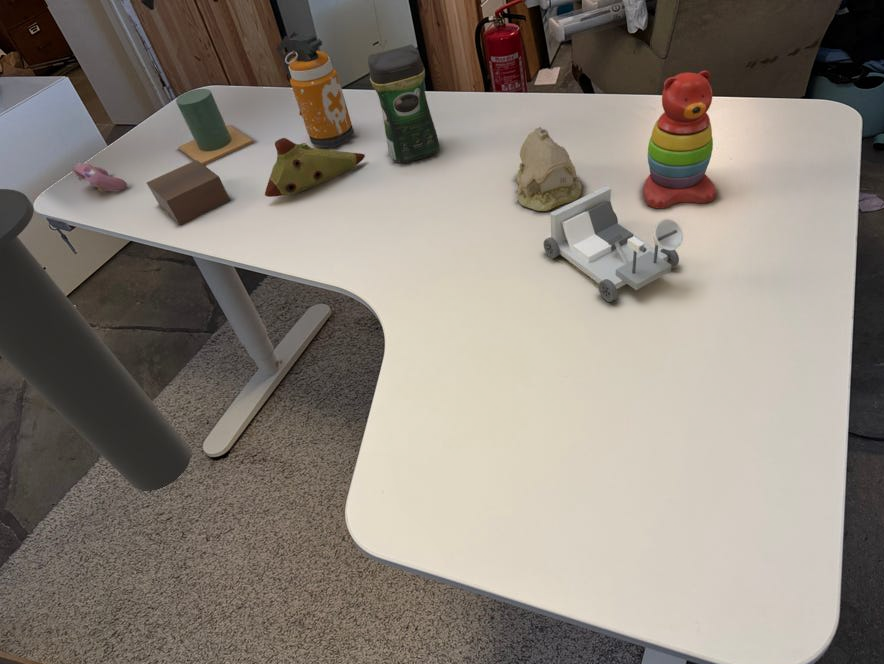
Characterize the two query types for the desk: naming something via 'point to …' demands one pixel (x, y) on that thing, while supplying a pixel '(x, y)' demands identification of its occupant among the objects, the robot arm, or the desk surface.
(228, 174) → the desk surface
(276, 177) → the ocarina
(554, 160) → the ceramic model
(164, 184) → the riser
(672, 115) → the stacking bear
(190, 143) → the cork mat
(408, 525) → the desk surface
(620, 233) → the toy car
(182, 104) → the green cylinder
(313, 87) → the canister
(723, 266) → the desk surface
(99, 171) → the pink animal figurine
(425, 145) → the coffee jar
